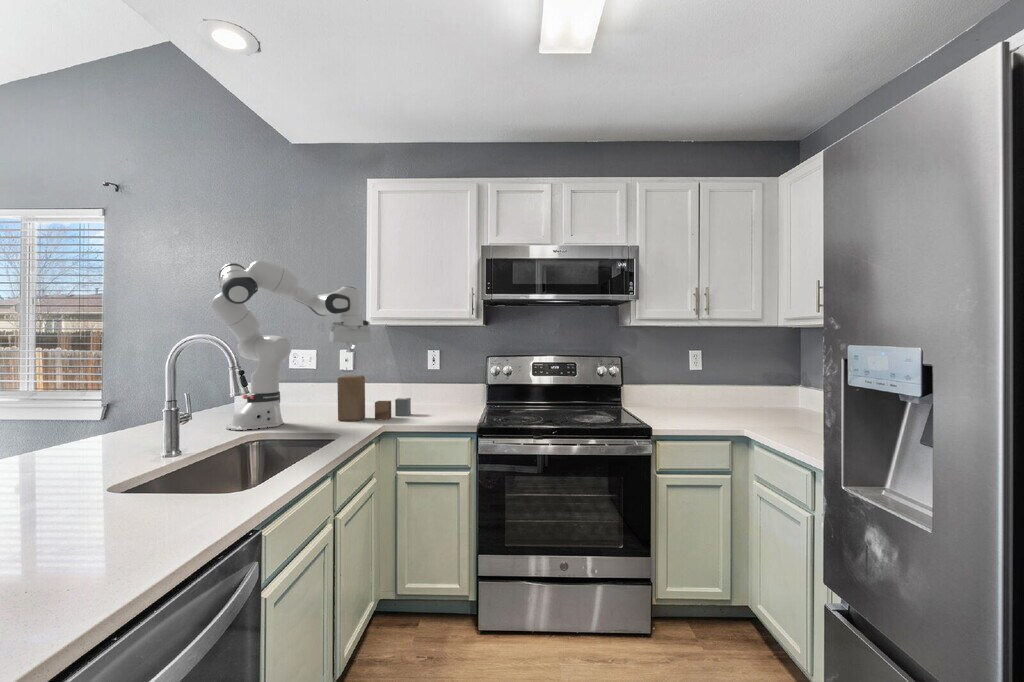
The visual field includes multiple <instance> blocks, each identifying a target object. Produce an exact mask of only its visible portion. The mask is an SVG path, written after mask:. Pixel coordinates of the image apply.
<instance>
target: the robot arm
mask: <svg viewBox="0 0 1024 682" xmlns="http://www.w3.org/2000/svg"><path fill="white" fill-rule="evenodd" d="M218 274H219V275H218V280H219V281H218V282H219V288H220V289H221V291H220V293H218V294H216V296H214V297H213V299H212V300H211V308H212V309H213V311H214V312H215V314H216V316H217V317H218V319H219V320H220V322H222V324H224V326H225V327H226V328H227V329H228V330H229V331H230V332H231V334H232V335H233V336H234V337H235V339H236V340H237V343H238V344H237V352H238V355H239V356H240V357H241V358H243V359H246V360H250V361H258V365H257V367H256V369H255V371H252V373H251V375H250V393H249V394H246V395H243V394H242V396H241V398H242V399H243V400H246V402H245V403H244V404H243V405H242V406H241V407H239V408H238V409H237V410H235V411H234V412H233V413H232V418H231V424H227V425H225V429H226V430H229V429H231V430H230V431H235V430H243V431H248V430H247V429H252V430H257V429H258V428H260V429H267V427H268V428H274V427H275V428H276V427H279V426H280V425H282V424H284V420H283V417H282V413H281V392H280V372H281V369H282V366H283V364H284V362H285V361H286V359H287V358H288V357H289V356H290V355H291V353H292V344H291V341H290V340H289V339H288V338H286V337H284V336H279V335H273V334H272V335H265V334H262V333H261V332H260V330H259V328H260V323H261V322H260V321H259V319H258V318H257V317H256V315H255V314H253V312H252V311H251V310H250V309H249V308H248V306H247V305H246V304H245V303H247V302H248V301H249V300H250V299H251V298H252V297H253V296H254V295H255V294H256V293H258V291H259V290H258V289H259V288H260V289H264V290H266V291H268V292H271V293H273V294H276V295H279V296H282V297H287V298H290V299H292V300H294V301H296V302H298V303H300V304H303V305H304V306H306V307H307V308H309V309H310V310H311V311H312V312H313V313H314V314H316V315H317V316H320V317H326V316H332V315H338V314H340V315H339V316H340V321H334V322H332V323H331V324H330V328H329V329H330V331H329V342H330V343H333V344H335V343H336V344H337V343H344V346H345V348H346V352H347V353H356V352H355V351H356V347H357V344H358V343H360V342H361V343H369V342H370V341H371V340H372V332H371V327H370V325H371V322H370V321H369V320H367V319H364V318H361V311H360V310H361V296H360V295H361V294H360V291H359V290H358V289H357V288H356V287H353V286H346V285H345V286H341V288H339V289H338V290H335V291H332V292H330V293H314V292H312V291H310V290H308V289H306V288H303V287H301V285H299V279H298V276H297V275H296V274H294V273H293V272H292V271H290V270H289V269H287V268H284V267H282V266H280V265H277V264H275V263H272V262H268V261H265V260H263V259H262V260H260V259H257V260H254V261H253V262H252V263H250V265H249V267H248V268H245V267H244V266H243V265H242V264H239V263H236V262H235V263H234V262H231V263H230V262H229V263H226V264H224V265H223V266H222V267H221V268H220V271H219V273H218ZM350 345H352V346H350Z"/></svg>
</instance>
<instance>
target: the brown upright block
mask: <svg viewBox="0 0 1024 682" xmlns="http://www.w3.org/2000/svg"><path fill="white" fill-rule="evenodd" d="M391 418H392V400H376V401H374V420H375V421H378V420H377V419H382V421H384V420H385V421H386V420H390V419H391Z"/></svg>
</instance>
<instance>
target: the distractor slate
mask: <svg viewBox="0 0 1024 682" xmlns="http://www.w3.org/2000/svg"><path fill="white" fill-rule="evenodd" d="M394 402H395V405H394V408H395V409H394V411H395V412H394V413H395V415H394V416H395V417H409V416H410V415H412V414H411V413H412V410H411V409H412V405H411V397H398V398H395V399H394Z"/></svg>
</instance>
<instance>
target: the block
mask: <svg viewBox="0 0 1024 682" xmlns="http://www.w3.org/2000/svg"><path fill="white" fill-rule="evenodd" d="M336 382H337V420H338V421H339V422H359V421H360V420H362V419H364V418H366V377H365V375H363V374H361V375H359V374H358V375H356V374H355V375H342V376H338V377H337V381H336Z"/></svg>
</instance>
